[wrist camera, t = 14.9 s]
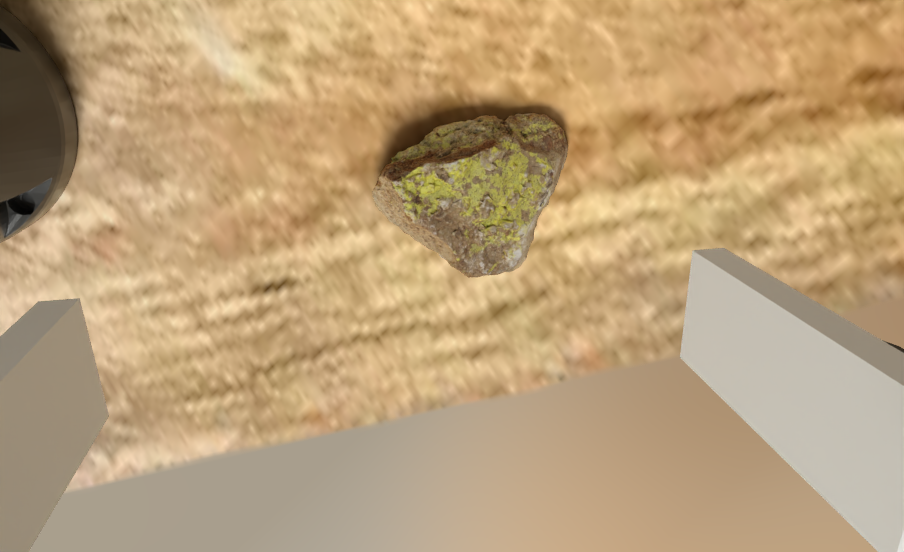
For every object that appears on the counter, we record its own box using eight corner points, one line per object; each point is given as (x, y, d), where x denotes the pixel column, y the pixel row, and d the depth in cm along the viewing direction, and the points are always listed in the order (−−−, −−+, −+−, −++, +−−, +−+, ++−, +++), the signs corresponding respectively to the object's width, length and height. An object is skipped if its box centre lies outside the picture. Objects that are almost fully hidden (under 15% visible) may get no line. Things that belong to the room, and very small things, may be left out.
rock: (367, 201, 45) (456, 315, 44) (357, 174, 38) (463, 310, 37) (509, 95, 46) (597, 205, 46) (525, 51, 39) (629, 180, 39)
